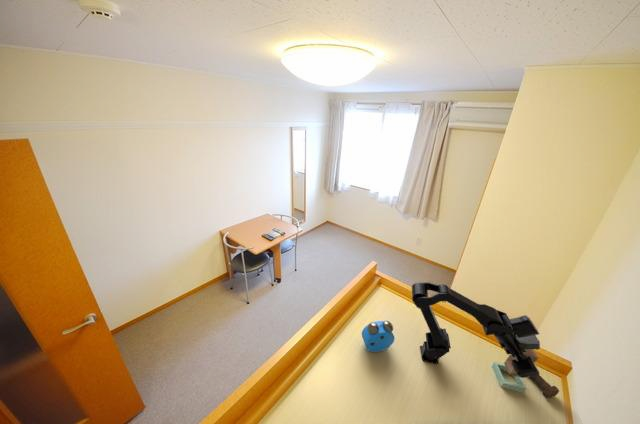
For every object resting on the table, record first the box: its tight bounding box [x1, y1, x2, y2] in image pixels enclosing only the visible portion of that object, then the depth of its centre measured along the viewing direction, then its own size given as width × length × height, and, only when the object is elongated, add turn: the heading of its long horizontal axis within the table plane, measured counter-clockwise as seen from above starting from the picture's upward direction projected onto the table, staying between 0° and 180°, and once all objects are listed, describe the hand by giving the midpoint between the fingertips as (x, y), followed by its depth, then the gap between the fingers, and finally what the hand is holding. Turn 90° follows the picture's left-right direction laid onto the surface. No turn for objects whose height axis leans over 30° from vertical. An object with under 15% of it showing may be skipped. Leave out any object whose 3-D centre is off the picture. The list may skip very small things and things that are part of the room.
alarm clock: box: [361, 320, 395, 353], centre depth 98 cm, size 13×6×15 cm, turn 100°
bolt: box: [529, 374, 560, 399], centre depth 92 cm, size 6×5×15 cm
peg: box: [503, 349, 540, 377], centre depth 86 cm, size 4×4×13 cm
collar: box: [491, 361, 528, 393], centre depth 91 cm, size 8×8×3 cm
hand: (524, 361), depth 86 cm, fingers closed on peg, 4 cm apart
